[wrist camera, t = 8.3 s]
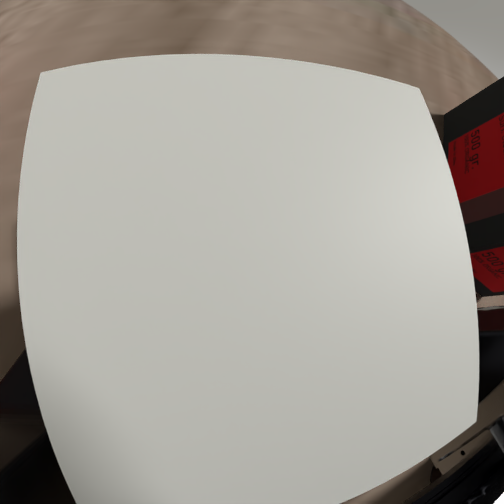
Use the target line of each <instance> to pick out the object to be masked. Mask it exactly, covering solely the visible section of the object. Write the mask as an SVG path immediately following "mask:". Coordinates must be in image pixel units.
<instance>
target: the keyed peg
mask: <svg viewBox="0 0 504 504" xmlns="http://www.w3.org/2000/svg"><path fill="white" fill-rule="evenodd" d="M17 263H18V283H19V296H20V307H21V315H22V323H23V331H24V337H25V344H26V349H27V355H28V360H29V365H30V370H31V375H32V379H33V383H34V388H35V392H36V396H37V399H38V403H39V407H40V410H41V414H42V417H43V420H44V424H45V427H46V430H47V433H48V436H49V439H50V442H51V445H52V447H53V450H54V453H55V455H56V458H57V461H58V463H59V466H60V468H61V471H62V473H63V475H64V478H65V480H66V482H67V485H68V487H69V489H70V491H71V493H72V495H73V498H74V500H75V502H76V504H340V503H342V502H345V501H347V500H349V499H351V498H354V497H356V496H358V495H360V494H362V493H364V492H366V491H368V490H371V489H373V488H375V487H376V486H378V485H380V484H382V483H384V482H386V481H388V480H390V479H392V478H393V477H395V476H397V475H399V474H401V473H402V472H404V471H406V470H407V469H409V468H411V467H412V466H414V465H416V464H417V463H419V462H421V461H422V460H424V459H425V458H427V457H428V456H430V455H431V454H433V453H434V452H436V451H437V450H439V449H440V448H442V447H443V446H445V445H446V444H447V443H449V442H450V441H452V440H453V439H454V438H456V437H457V436H458V435H460V434H461V433H462V432H464V431H465V430H466V429H468V428H469V427H470V426H471V425H473V424H474V423H475V422H476V420H477V408H478V392H479V333H478V316H477V304H476V294H475V286H474V278H473V271H472V264H471V258H470V252H469V246H468V241H467V236H466V231H465V226H464V222H463V217H462V213H461V209H460V205H459V201H458V197H457V193H456V189H455V186H454V182H453V179H452V175H451V172H450V169H449V165H448V162H447V159H446V156H445V153H444V150H443V147H442V144H441V141H440V139H439V136H438V133H437V131H436V128H435V125H434V123H433V120H432V118H431V115H430V113H429V110H428V108H427V105H426V103H425V101H424V98H423V96H422V94H421V92H420V89H419V88H417V87H413V86H410V85H407V84H404V83H400V82H397V81H393V80H390V79H386V78H382V77H378V76H374V75H370V74H366V73H362V72H357V71H353V70H348V69H343V68H338V67H333V66H328V65H322V64H316V63H310V62H303V61H296V60H288V59H279V58H270V57H259V56H245V55H225V54H175V55H155V56H141V57H130V58H121V59H113V60H105V61H98V62H92V63H86V64H80V65H74V66H69V67H64V68H59V69H55V70H50V71H46V72H42V73H41V74H40V78H39V81H38V85H37V89H36V93H35V97H34V101H33V105H32V109H31V114H30V119H29V124H28V129H27V134H26V140H25V146H24V153H23V160H22V168H21V177H20V187H19V200H18V220H17Z"/></svg>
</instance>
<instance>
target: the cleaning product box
mask: <svg viewBox="0 0 504 504" xmlns="http://www.w3.org/2000/svg"><path fill="white" fill-rule="evenodd" d="M443 150H444V153H445V156H446V159H447V162H448V165H449V169H450V172H451V175H452V179H453V182H454V186H455V189H456V193H457V197H458V201H459V205H460V209H461V213H462V217H463V222H464V226H465V231H466V236H467V241H468V246H469V252H470V258H471V264H472V271H473V278H474V286H475V291H476V292H477V293H479V294H480V295H481V296H483V297H484V296H496V295H504V77H502V78H501V79H499V80H498V81H496V82H494V83H493V84H491V85H490V86H488V87H487V88H485V89H484V90H482V91H480V92H479V93H477V94H476V95H474V96H473V97H471V98H469V99H468V100H466V101H465V102H463V103H462V104H460V105H459V106H457V107H455V108H454V109H452V110H451V111H449V112H448V113H446V114H445V115H444V138H443Z"/></svg>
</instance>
